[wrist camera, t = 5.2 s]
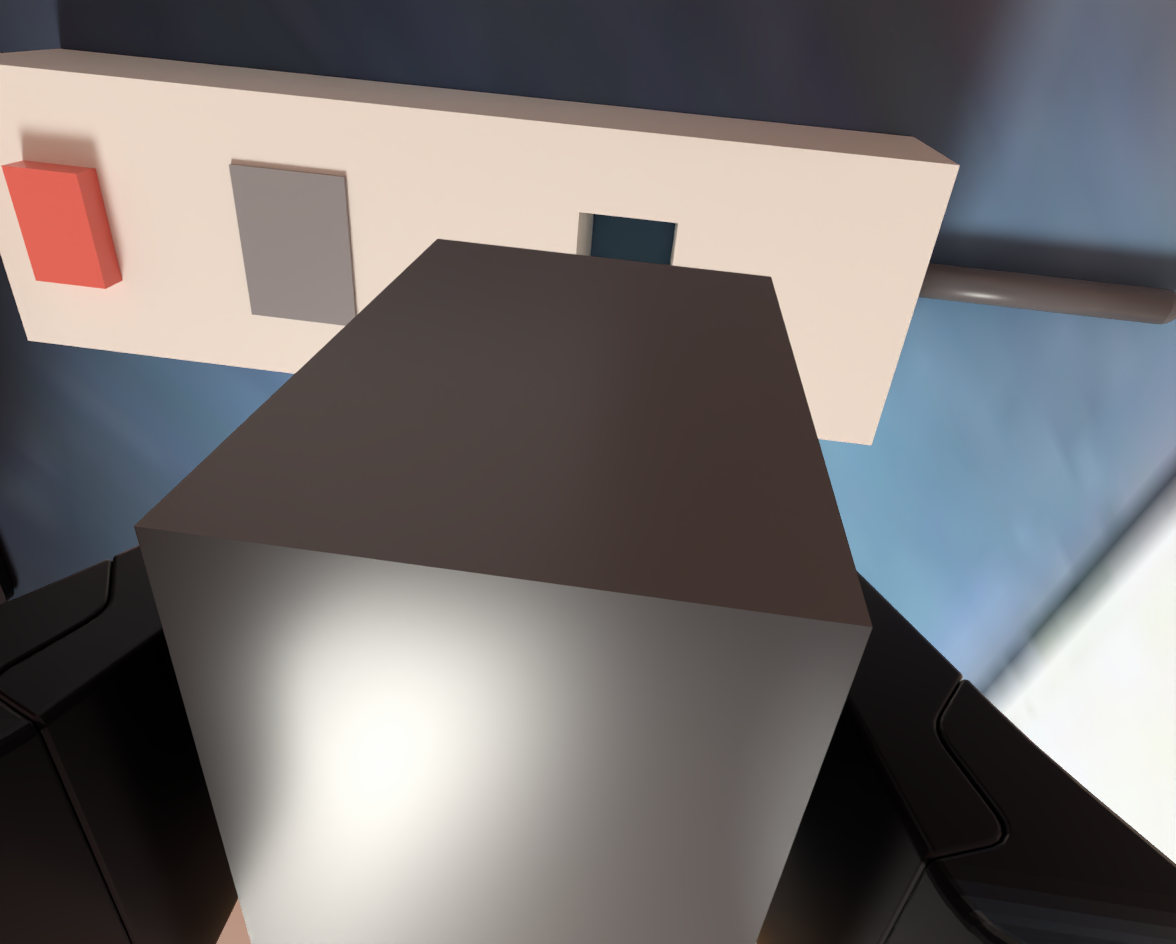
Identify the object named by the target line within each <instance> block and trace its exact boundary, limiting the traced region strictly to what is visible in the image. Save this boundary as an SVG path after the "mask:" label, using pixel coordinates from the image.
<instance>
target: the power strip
mask: <svg viewBox="0 0 1176 944" xmlns="http://www.w3.org/2000/svg"><path fill="white" fill-rule="evenodd" d="M959 166H960V165H958V164H957V163H955V162H954V161H952V160H950V159H949V158H947V157H946V156H944V155H942V154H941V153H939V152H937V151H936V150H934V149H933V148H931V147H929V146H928V145H926V144H924V143H923V142H921V141H920V140H918V139H916V138H915V137H910V136H901V135H891V134H881V133H872V132H862V131H852V130H843V129H833V128H823V127H814V126H804V125H794V124H785V123H775V122H765V121H756V120H746V119H736V118H726V117H717V116H707V115H697V114H688V113H678V112H668V111H659V110H649V109H639V108H630V107H620V106H610V105H601V104H591V103H581V102H572V101H562V100H552V99H543V98H533V97H523V96H513V95H504V94H494V93H484V92H475V91H465V90H455V89H446V88H436V87H426V86H417V85H407V84H397V83H388V82H378V81H368V80H359V79H349V78H339V77H330V76H320V75H310V74H300V73H291V72H281V71H271V70H262V69H252V68H242V67H233V66H223V65H213V64H204V63H194V62H184V61H175V60H165V59H155V58H146V57H136V56H126V55H117V54H107V53H97V52H87V51H78V50H68V49H48V50H35V51H22V52H10V53H0V254H1V257H2V260H3V263H4V267H5V270H6V273H7V276H8V279H9V282H10V285H11V288H12V292H13V295H14V298H15V301H16V304H17V307H18V310H19V313H20V317H21V320H22V323H23V326H24V329H25V332H26V335H27V338H28V341H36V342H44V343H52V344H60V345H68V346H76V347H84V348H92V349H100V350H108V351H116V352H124V353H133V354H141V355H149V356H157V357H165V358H173V359H181V360H189V361H197V362H205V363H213V364H221V365H229V366H237V367H245V368H253V369H261V370H269V371H277V372H285V373H293V374H295V373H296V372H297V371H298V370H299V369H300V368H302V367H303V366H304V365H305V364H306V363H307V362H308V361H309V360H310V359H311V358H312V357H313V356H314V355H315V354H316V353H317V352H318V351H319V350H321V349H322V348H323V347H324V346H325V345H326V344H327V343H328V342H329V341H330V340H331V339H332V338H333V337H334V336H335V335H336V334H337V333H338V332H340V331H341V330H342V329H343V328H344V327H345V326H346V325H347V324H348V323H349V322H350V321H351V320H352V319H353V318H354V317H355V316H356V315H357V314H359V313H360V312H361V311H362V310H363V309H364V308H365V307H366V306H367V305H368V304H369V303H370V302H371V301H372V300H373V299H374V298H375V297H376V296H378V295H379V294H380V293H381V292H382V291H383V290H384V289H385V288H386V287H387V286H388V285H389V284H390V283H391V282H392V281H393V280H394V279H395V278H397V277H398V276H399V275H400V274H401V273H402V272H403V271H404V270H405V269H406V268H407V267H408V266H409V265H410V264H411V263H412V262H413V261H414V260H416V259H417V258H418V257H419V256H420V255H421V254H422V253H423V252H424V251H425V250H426V249H427V248H428V247H429V246H430V245H431V244H432V243H433V242H435V241H436V240H437V239H445V240H454V241H463V242H472V243H480V244H489V245H498V246H507V247H516V248H524V249H533V250H542V251H551V252H559V253H568V254H577V255H586V256H591V244H592V232H593V220H594V214H600V215H609V216H618V217H627V218H636V219H645V220H654V221H663V222H672V223H675V229H674V237H673V244H672V251H671V258H670V265H673V266H682V267H691V268H699V269H708V270H717V271H726V272H735V273H743V274H752V275H761V276H770V277H771V278H772V282H773V285H774V289H775V292H776V295H777V299H778V302H779V306H780V309H781V313H782V316H783V320H784V323H785V327H786V330H787V333H788V337H789V340H790V344H791V347H792V351H793V354H794V358H795V361H796V365H797V368H798V371H799V375H800V378H801V382H802V385H803V389H804V392H805V396H806V399H807V403H808V406H809V409H810V413H811V416H812V420H813V423H814V427H815V430H816V434H817V437H818V439H824V440H832V441H840V442H848V443H856V444H864V445H872V442H873V439H874V435H875V432H876V429H877V426H878V423H879V420H880V416H881V413H882V410H883V407H884V404H885V401H886V397H887V394H888V391H889V388H890V385H891V382H892V378H893V375H894V372H895V369H896V366H897V363H898V359H899V356H900V353H901V350H902V347H903V344H904V340H905V337H906V334H907V331H908V328H909V325H910V321H911V318H912V315H913V312H914V309H915V306H916V302H917V299H918V297H923V298H932V299H941V300H950V301H959V302H967V303H976V304H985V305H994V306H1002V307H1011V308H1020V309H1029V310H1037V311H1046V312H1055V313H1064V314H1073V315H1081V316H1090V317H1099V318H1108V319H1116V320H1125V321H1134V322H1143V323H1151V324H1165V323H1168V322H1171V321H1173V320H1174V319H1176V292H1174V291H1172V290H1168V289H1159V288H1150V287H1141V286H1132V285H1123V284H1114V283H1105V282H1096V281H1087V280H1079V279H1070V278H1061V277H1052V276H1043V275H1034V274H1025V273H1016V272H1007V271H998V270H989V269H980V268H971V267H962V266H953V265H944V264H935V263H929V261H930V258H931V255H932V252H933V249H934V245H935V242H936V239H937V236H938V233H939V230H940V226H941V223H942V220H943V217H944V214H945V211H946V207H947V204H948V201H949V198H950V195H951V192H952V188H953V185H954V182H955V179H956V176H957V173H958V169H959Z"/></svg>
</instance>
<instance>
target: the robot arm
mask: <svg viewBox="0 0 1176 944" xmlns="http://www.w3.org/2000/svg"><path fill="white" fill-rule="evenodd" d="M856 572H857V571H856ZM857 575H858V579H859V582H860V586H861V589H862V592H863V596H864V599H865V603H866V606H867V610H868V613H869V617H870V620H871V624H872V627H873V628H872V630H871V633H870V636H869V639H868V641H867V644H866V647H865V649H864V652H863V655H862V658H861V660H860V663H859V666H858V668H857V671H856V674H855V676H854V679H853V682H852V685H851V687H850V690H849V693H848V695H847V698H846V701H845V703H844V706H843V709H842V712H841V714H840V717H839V720H838V722H837V725H836V728H835V730H834V733H833V736H832V739H831V741H830V744H829V747H828V749H827V752H826V755H825V757H824V760H823V763H822V766H821V768H820V771H819V774H818V776H817V779H816V782H815V784H814V787H813V790H812V793H811V795H810V798H809V801H808V803H807V806H806V809H805V811H804V814H803V817H802V820H801V822H800V825H799V828H798V830H797V833H796V836H795V838H794V841H793V844H792V847H791V849H790V852H789V855H788V857H787V860H786V863H785V865H784V868H783V871H782V874H781V876H780V879H779V882H778V884H777V887H776V890H775V892H774V895H773V898H772V901H771V903H770V906H769V909H768V911H767V914H766V917H765V919H764V922H763V925H762V928H761V930H760V933H759V936H758V938H757V941H756V943H757V944H1176V864H1175V863H1174V862H1173V861H1171V860H1170V859H1169V858H1168V857H1167V856H1165V855H1164V854H1163V853H1162V852H1161V851H1160V850H1158V849H1157V848H1156V847H1155V846H1154V845H1152V844H1151V843H1150V842H1149V841H1148V840H1146V839H1145V838H1144V837H1143V836H1142V835H1141V834H1139V833H1138V832H1137V831H1136V830H1135V829H1133V828H1132V827H1131V826H1130V825H1129V824H1127V823H1126V822H1125V821H1124V820H1123V819H1122V818H1120V817H1119V816H1118V815H1117V814H1116V813H1114V812H1113V811H1112V810H1111V809H1110V808H1108V807H1107V806H1106V805H1105V804H1104V803H1102V802H1101V801H1100V800H1099V799H1098V798H1097V797H1095V796H1094V795H1093V794H1092V793H1091V792H1089V791H1088V790H1087V789H1086V788H1085V787H1084V786H1082V785H1081V784H1080V783H1079V782H1078V781H1077V780H1076V779H1074V778H1073V777H1072V776H1071V775H1070V774H1069V773H1068V772H1066V771H1065V770H1064V769H1063V768H1062V767H1061V766H1060V765H1058V764H1057V763H1056V762H1055V761H1054V760H1053V759H1051V758H1050V757H1049V756H1048V755H1047V754H1046V753H1045V752H1043V751H1042V750H1041V749H1040V748H1039V747H1038V746H1037V745H1035V744H1034V743H1033V742H1032V741H1031V740H1030V739H1029V738H1028V737H1027V736H1026V735H1025V734H1024V733H1023V732H1022V731H1021V730H1019V729H1018V728H1017V727H1016V726H1015V725H1014V724H1013V723H1012V722H1011V721H1010V720H1009V719H1008V718H1007V717H1006V716H1005V715H1004V714H1002V713H1001V712H1000V711H999V710H998V709H997V708H996V707H995V706H994V705H993V704H992V703H991V702H990V701H989V700H988V699H987V698H986V697H985V696H984V695H983V694H982V693H981V692H980V691H979V690H978V689H977V688H976V687H975V686H974V685H973V684H972V683H971V682H970V681H968V680H962V679H963V676H962V674H961V673H960V672H959V671H958V670H957V669H956V668H955V667H954V666H953V665H952V664H951V663H950V662H949V661H948V660H947V659H946V658H945V657H944V656H943V655H942V654H941V653H940V652H939V651H938V650H937V649H936V648H935V647H934V646H933V645H932V644H931V643H930V642H929V641H928V640H927V639H926V638H924V637H923V636H922V635H921V634H920V633H919V632H918V631H917V630H916V629H915V628H914V627H913V626H912V625H911V624H910V623H909V622H908V621H907V620H906V619H905V618H904V617H903V616H902V615H901V614H900V613H899V612H898V611H897V610H896V609H895V608H894V607H893V606H892V605H891V604H890V603H889V602H888V601H887V600H886V599H885V598H884V597H883V596H882V595H881V594H880V593H879V592H878V591H877V590H876V589H875V588H874V587H873V586H872V585H871V584H870V583H869V582H868V581H867V580H866V579H865V578H864V577H863V576H861V575H860V574H859V573H858V572H857ZM13 595H14V589H13V587H12V584H11V582H10V579H9V577H8V574H7V572H6V569H5V567H4V565H3V562H2V560H1V557H0V944H216V943H217V941H218V939H219V937H220V934H221V932H222V930H223V928H224V926H225V924H226V922H227V920H228V918H229V916H230V914H231V912H232V910H233V908H234V906H235V904H236V902H237V900H238V895H237V891H236V888H235V884H234V881H233V877H232V873H231V870H230V866H229V863H228V859H227V856H226V852H225V849H224V845H223V841H222V838H221V834H220V831H219V827H218V824H217V820H216V816H215V813H214V809H213V806H212V802H211V799H210V795H209V792H208V788H207V784H206V781H205V777H204V774H203V770H202V767H201V763H200V759H199V756H198V752H197V749H196V745H195V742H194V738H193V734H192V731H191V727H190V724H189V720H188V717H187V713H186V710H185V706H184V702H183V699H182V695H181V692H180V688H179V685H178V681H177V677H176V674H175V670H174V667H173V663H172V660H171V656H170V653H169V649H168V645H167V642H166V638H165V635H164V631H163V628H162V624H161V620H160V617H159V613H158V610H157V606H156V603H155V599H154V596H153V592H152V588H151V585H150V581H149V578H148V574H147V571H146V567H145V563H144V560H143V556H142V553H141V549H140V546H136V547H134V548H132V549H130V550H127V551H125V552H123V553H121V554H118V555H116V556H115V557H114V558H113V562H112V561H111V560H104V561H102V562H100V563H97V564H95V565H93V566H91V567H89V568H86V569H84V570H82V571H80V572H77V573H75V574H73V575H71V576H68V577H66V578H63V579H61V580H59V581H56V582H54V583H52V584H49V585H47V586H45V587H42V588H40V589H37V590H35V591H33V592H30V593H28V594H26V595H23V596H21V597H18V598H16V599H13V600H11V601H8V600H9V599H10V598H12V597H13ZM7 601H8V602H7Z"/></svg>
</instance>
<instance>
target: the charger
mask: <svg viewBox="0 0 1176 944" xmlns="http://www.w3.org/2000/svg"><path fill="white" fill-rule="evenodd" d="M134 528H135V531H136V535H137V538H138V542H139V546H140V549H141V553H142V556H143V560H144V563H145V567H146V571H147V574H148V578H149V581H150V585H151V588H152V592H153V596H154V599H155V603H156V606H157V610H158V613H159V617H160V620H161V624H162V628H163V631H164V635H165V638H166V642H167V645H168V649H169V653H170V656H171V660H172V663H173V667H174V670H175V674H176V677H177V681H178V685H179V688H180V692H181V695H182V699H183V702H184V706H185V710H186V713H187V717H188V720H189V724H190V727H191V731H192V734H193V738H194V742H195V745H196V749H197V752H198V756H199V759H200V763H201V767H202V770H203V774H204V777H205V781H206V784H207V788H208V792H209V795H210V799H211V802H212V806H213V809H214V813H215V816H216V820H217V824H218V827H219V831H220V834H221V838H222V841H223V845H224V849H225V852H226V856H227V859H228V863H229V866H230V870H231V873H232V877H233V881H234V884H235V888H236V891H237V895H238V898H239V902H240V905H241V909H242V912H243V916H244V920H245V923H246V927H247V930H248V934H249V938H250V941H251V944H756V941H757V938H758V936H759V933H760V930H761V928H762V925H763V922H764V919H765V917H766V914H767V911H768V909H769V906H770V903H771V901H772V898H773V895H774V892H775V890H776V887H777V884H778V882H779V879H780V876H781V874H782V871H783V868H784V865H785V863H786V860H787V857H788V855H789V852H790V849H791V847H792V844H793V841H794V838H795V836H796V833H797V830H798V828H799V825H800V822H801V820H802V817H803V814H804V811H805V809H806V806H807V803H808V801H809V798H810V795H811V793H812V790H813V787H814V784H815V782H816V779H817V776H818V774H819V771H820V768H821V766H822V763H823V760H824V757H825V755H826V752H827V749H828V747H829V744H830V741H831V739H832V736H833V733H834V730H835V728H836V725H837V722H838V720H839V717H840V714H841V712H842V709H843V706H844V703H845V701H846V698H847V695H848V693H849V690H850V687H851V685H852V682H853V679H854V676H855V674H856V671H857V668H858V666H859V663H860V660H861V658H862V655H863V652H864V649H865V647H866V644H867V641H868V639H869V636H870V633H871V630H872V628H873V627H872V624H871V620H870V617H869V613H868V610H867V606H866V603H865V599H864V596H863V592H862V589H861V586H860V582H859V579H858V575H857V572H856V568H855V565H854V561H853V558H852V554H851V551H850V548H849V544H848V541H847V537H846V534H845V530H844V527H843V523H842V520H841V516H840V513H839V510H838V506H837V503H836V499H835V496H834V492H833V489H832V485H831V482H830V478H829V475H828V472H827V468H826V465H825V461H824V458H823V454H822V451H821V447H820V444H819V441H818V437H817V434H816V430H815V427H814V423H813V420H812V416H811V413H810V409H809V406H808V403H807V399H806V396H805V392H804V389H803V385H802V382H801V378H800V375H799V371H798V368H797V365H796V361H795V358H794V354H793V351H792V347H791V344H790V340H789V337H788V333H787V330H786V327H785V323H784V320H783V316H782V313H781V309H780V306H779V302H778V299H777V295H776V292H775V289H774V285H773V282H772V278H771V277H770V276H761V275H752V274H743V273H735V272H726V271H717V270H708V269H699V268H691V267H682V266H673V265H664V264H656V263H647V262H638V261H629V260H621V259H612V258H603V257H594V256H586V255H577V254H568V253H559V252H551V251H542V250H533V249H524V248H516V247H507V246H498V245H489V244H480V243H472V242H463V241H454V240H445V239H437V240H436V241H435V242H433V243H432V244H431V245H430V246H429V247H428V248H427V249H426V250H425V251H424V252H423V253H422V254H421V255H420V256H419V257H418V258H417V259H416V260H414V261H413V262H412V263H411V264H410V265H409V266H408V267H407V268H406V269H405V270H404V271H403V272H402V273H401V274H400V275H399V276H398V277H397V278H395V279H394V280H393V281H392V282H391V283H390V284H389V285H388V286H387V287H386V288H385V289H384V290H383V291H382V292H381V293H380V294H379V295H378V296H376V297H375V298H374V299H373V300H372V301H371V302H370V303H369V304H368V305H367V306H366V307H365V308H364V309H363V310H362V311H361V312H360V313H359V314H357V315H356V316H355V317H354V318H353V319H352V320H351V321H350V322H349V323H348V324H347V325H346V326H345V327H344V328H343V329H342V330H341V331H340V332H338V333H337V334H336V335H335V336H334V337H333V338H332V339H331V340H330V341H329V342H328V343H327V344H326V345H325V346H324V347H323V348H322V349H321V350H319V351H318V352H317V353H316V354H315V355H314V356H313V357H312V358H311V359H310V360H309V361H308V362H307V363H306V364H305V365H304V366H303V367H302V368H300V369H299V370H298V371H297V372H296V373H295V374H294V375H293V376H292V377H291V378H290V379H289V380H288V381H287V382H286V383H285V384H284V385H283V386H281V387H280V388H279V389H278V390H277V391H276V392H275V393H274V394H273V395H272V396H271V397H270V398H269V399H268V400H267V401H266V402H265V403H264V404H262V405H261V406H260V407H259V408H258V409H257V410H256V411H255V412H254V413H253V414H252V415H251V416H250V417H249V418H248V419H247V420H246V421H245V422H243V423H242V424H241V425H240V426H239V427H238V428H237V429H236V430H235V431H234V432H233V433H232V434H231V435H230V436H229V437H228V438H227V439H226V440H224V441H223V442H222V443H221V444H220V445H219V446H218V447H217V448H216V449H215V450H214V451H213V452H212V453H211V454H210V455H209V456H208V457H207V458H205V459H204V460H203V461H202V462H201V463H200V464H199V465H198V466H197V467H196V468H195V469H194V470H193V471H192V472H191V473H190V474H189V475H188V476H186V477H185V478H184V479H183V480H182V481H181V482H180V483H179V484H178V485H177V486H176V487H175V488H174V489H173V490H172V491H171V492H170V493H169V494H167V495H166V496H165V497H164V498H163V499H162V500H161V501H160V502H159V503H158V504H157V505H156V506H155V507H154V508H153V509H152V510H151V511H150V512H148V513H147V514H146V515H145V516H144V517H143V518H142V519H141V520H140V521H139V522H138V523H137V524H136V525H135V526H134Z"/></svg>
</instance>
